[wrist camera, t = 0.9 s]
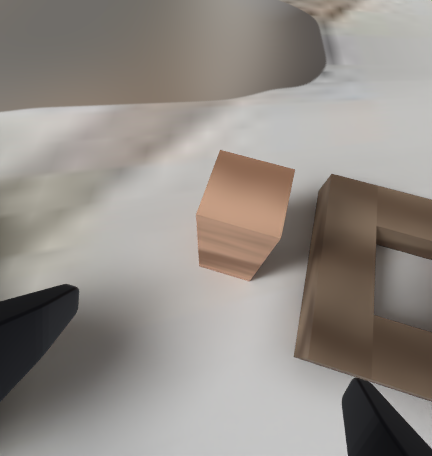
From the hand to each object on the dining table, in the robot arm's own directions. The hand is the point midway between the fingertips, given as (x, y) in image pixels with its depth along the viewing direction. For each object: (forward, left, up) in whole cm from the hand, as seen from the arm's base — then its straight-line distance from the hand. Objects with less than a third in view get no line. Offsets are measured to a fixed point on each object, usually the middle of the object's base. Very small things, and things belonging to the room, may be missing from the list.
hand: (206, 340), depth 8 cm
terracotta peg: (+7, -3, -13) cm, 15 cm away
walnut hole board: (+2, -17, -13) cm, 22 cm away
